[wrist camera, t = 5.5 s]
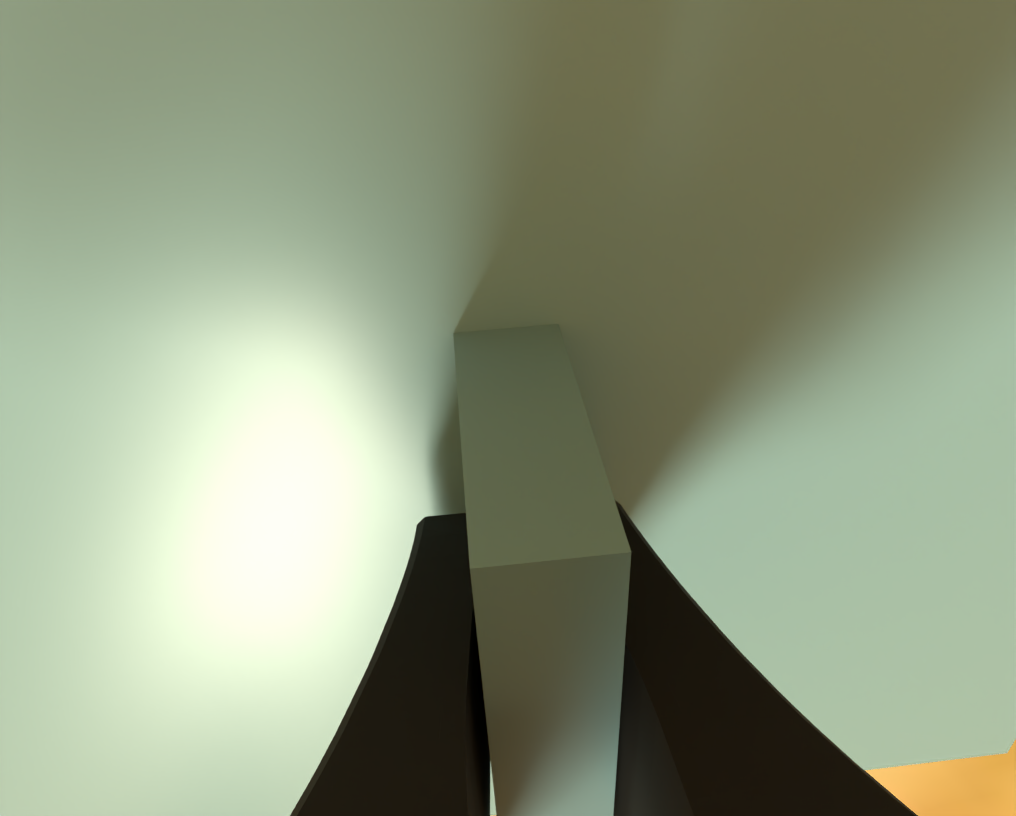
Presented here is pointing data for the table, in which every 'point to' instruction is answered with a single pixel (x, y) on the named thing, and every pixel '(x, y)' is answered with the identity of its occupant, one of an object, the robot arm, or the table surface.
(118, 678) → the lid
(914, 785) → the table surface
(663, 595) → the robot arm
